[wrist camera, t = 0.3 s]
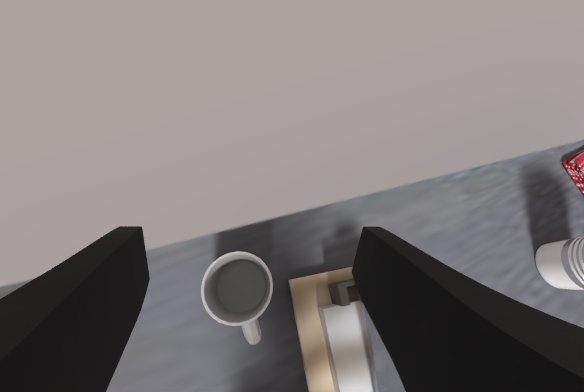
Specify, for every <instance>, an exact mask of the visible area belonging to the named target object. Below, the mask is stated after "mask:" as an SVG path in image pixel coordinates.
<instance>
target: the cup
mask: <svg viewBox="0 0 584 392" xmlns="http://www.w3.org/2000/svg"><path fill="white" fill-rule="evenodd" d="M272 291H273V282H272V276H271V273H270V271H269V269H268V267H267V266H266V264H265V263H264V262H263V261H262V260H261V259H260V258H258V257H257V256H255V255H253V254H250V253H248V252H239V251H236V252H231V253H227V254H225V255H223V256H221V257H219V258H218V259H217V260H216V261H214V262H213V263H212V264H211V265H210V267H209V268H208V270H207V271H206V273H205V275H204V278H203V280H202V287H201V295H202V301H203V304H204V306H205V309H206V310H207V312H208V313H209V314H210V315H211V317H213V318H214V319H215V320H217V321H218V322H220V323H223V324H226V325H229V326H240V325H241V326H242V330H243V333H244V336H245V338H246V340H247V341H248V342H249V344H257V343H258V342H259V341H260V340H261V328H260V324H259V321H258V317H259V316H260V315H261V314H262V313H263V312H264V311H265V309H266V308H267V306H268V304H269V303H270V299H271V296H272Z"/></svg>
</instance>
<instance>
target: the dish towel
mask: <svg viewBox="0 0 584 392" xmlns="http://www.w3.org/2000/svg"><path fill="white" fill-rule="evenodd" d="M561 163H562V164H564V167H565V169H566V171H567V172H568V174H569V175H570V176H571V178H572V179H573V181H574V183H575V184H576V186H577V187H578V188H579V190H580V191H581V193H582V194H583V196H584V150H582V151H580V152H578V153H576V154H574V155H572V156H570V157H569V158H567V159H565V160H563V161H561Z"/></svg>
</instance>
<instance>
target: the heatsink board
mask: <svg viewBox="0 0 584 392" xmlns="http://www.w3.org/2000/svg"><path fill="white" fill-rule="evenodd" d="M352 268H353V267H348V268H343V269H339V270H334V271H329V272H324V273H319V274H314V275H310V276H305V277H300V278H295V279H290V280H288V282H289V287H290V293H291V298H292V304H293V309H294V314H295V320H296V325H297V331H298V336H299V342H300V347H301V353H302V358H303V364H304V369H305V375H306V380H307V386H308V391H309V392H376V391H375V384H374V376H373V369H372V362H371V355H370V347H369V340H368V333H367V325H366V318H365V311H364V305H363V304H362V303H361V302H360V301H359V297H358V293H359V292H358V290H357V287H356V284H355V281H354V278H353V275H352ZM405 392H406V391H405Z"/></svg>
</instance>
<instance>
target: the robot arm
mask: <svg viewBox="0 0 584 392" xmlns="http://www.w3.org/2000/svg"><path fill="white" fill-rule="evenodd" d="M352 275H353V278H354V281H355V284H356V287H357V290H358V292H359V295H360V298H361V300H362V302H363V304H364V306H365V308H366V310H367V312H368V314H369V316H370V318H371V320H372V322H373V324H374V326H375V328H376V330H377V332H378V334H379V336H380V338H381V340H382V342H383V343H384V345H385V347H386V349H387V351H388V353H389V355H390V357H391V359H392V361H393V363H394V366H395V368H396V370H397V372H398V374H399V377H400V379H401V382H402V384H403V386H404V389H405V391H406V392H584V328H582V327H579V326H576V325H574V324H571V323H568V322H566V321H563V320H561V319H559V318H556V317H554V316H551V315H549V314H546V313H544V312H541V311H539V310H537V309H534V308H532V307H530V306H527V305H525V304H523V303H520V302H518V301H516V300H514V299H512V298H510V297H507V296H505V295H503V294H501V293H499V292H497V291H495V290H493V289H490V288H488V287H486V286H484V285H482V284H480V283H478V282H476V281H475V280H473V279H471V278H469V277H467V276H465V275H463V274H462V273H460V272H458V271H456V270H454V269H452V268H450V267H449V266H447V265H445V264H443V263H442V262H440V261H438V260H437V259H435V258H433V257H431V256H430V255H428V254H426V253H425V252H423V251H421V250H420V249H418V248H416V247H415V246H413V245H411V244H410V243H408V242H406V241H405V240H403V239H401V238H399V237H398V236H396V235H394V234H392V233H391V232H389V231H387V230H385V229H383V228H381V227H363V230H362V233H361V237H360V241H359V245H358V249H357V253H356V256H355V260H354V264H353V268H352ZM149 280H150V278H149V271H148V264H147V258H146V251H145V245H144V238H143V231H142V227H118V228H116V229H114V230H113V231H111V232H109V233H108V234H106V235H104V236H103V237H101V238H100V239H98V240H96V241H95V242H93V243H92V244H90V245H89V246H87V247H86V248H84V249H82V250H81V251H79V252H78V253H76V254H75V255H73V256H72V257H70V258H69V259H67V260H65V261H64V262H62V263H61V264H59V265H57V266H56V267H54V268H52V269H51V270H49V271H47V272H46V273H44V274H42V275H41V276H39V277H37V278H35V279H34V280H32V281H30V282H29V283H27V284H25V285H24V286H22V287H20V288H18V289H17V290H15V291H13V292H12V293H10V294H8V295H6V296H5V297H3V298H1V299H0V392H106V390H107V388H108V386H109V383H110V381H111V379H112V376H113V374H114V372H115V369H116V367H117V365H118V363H119V360H120V358H121V356H122V353H123V351H124V349H125V346H126V344H127V342H128V339H129V337H130V335H131V332H132V330H133V328H134V325H135V323H136V321H137V318H138V316H139V313H140V311H141V308H142V305H143V301H144V298H145V294H146V291H147V287H148V283H149Z"/></svg>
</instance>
